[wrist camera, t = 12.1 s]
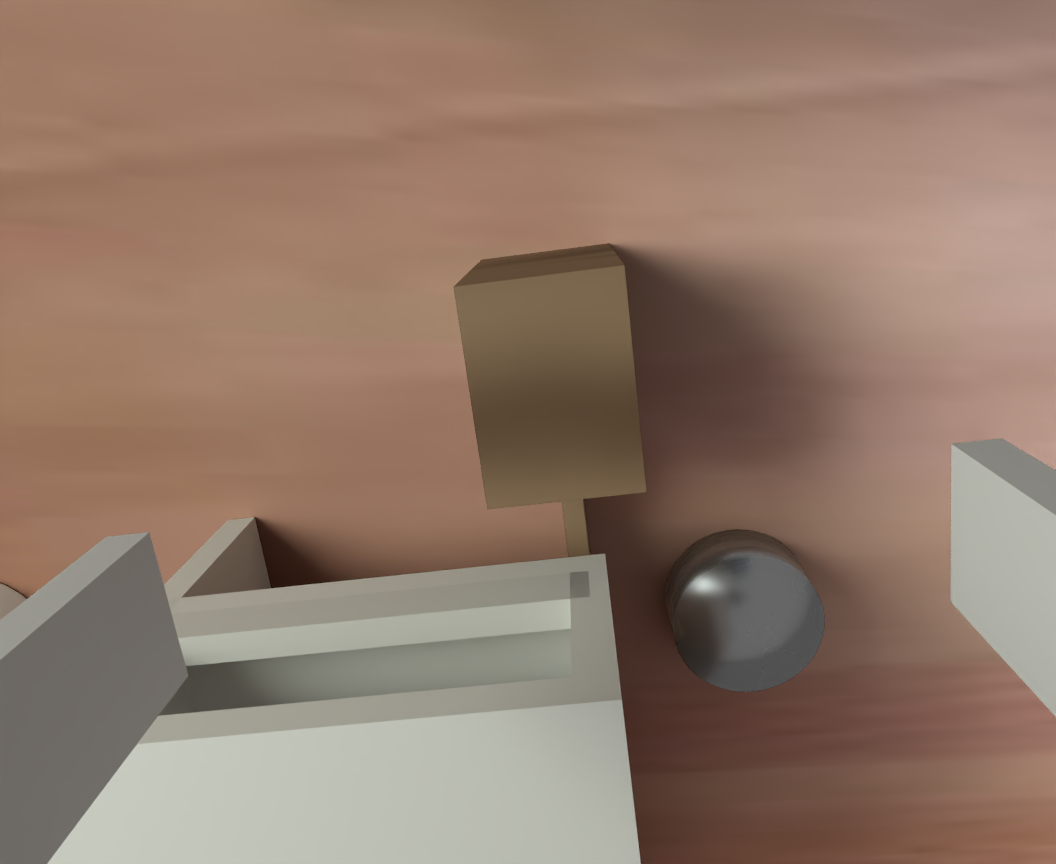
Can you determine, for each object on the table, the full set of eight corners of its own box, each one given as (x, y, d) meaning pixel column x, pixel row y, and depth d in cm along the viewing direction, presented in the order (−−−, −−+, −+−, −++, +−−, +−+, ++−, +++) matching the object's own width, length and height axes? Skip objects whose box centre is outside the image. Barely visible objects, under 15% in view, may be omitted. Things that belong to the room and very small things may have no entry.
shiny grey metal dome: (657, 538, 37) (665, 568, 34) (798, 519, 37) (819, 548, 34) (673, 661, 39) (682, 699, 36) (809, 644, 38) (829, 682, 35)
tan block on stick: (481, 259, 34) (453, 286, 25) (608, 243, 34) (624, 265, 25) (541, 683, 39) (535, 825, 30) (652, 673, 39) (677, 814, 30)
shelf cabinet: (227, 520, 37) (-6, 757, 22) (596, 479, 36) (621, 699, 21) (326, 926, 43) (196, 1335, 28) (645, 902, 42) (693, 1315, 27)
